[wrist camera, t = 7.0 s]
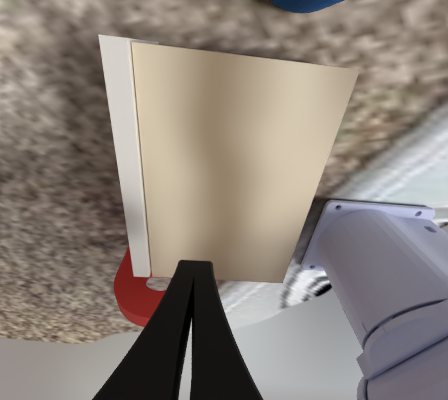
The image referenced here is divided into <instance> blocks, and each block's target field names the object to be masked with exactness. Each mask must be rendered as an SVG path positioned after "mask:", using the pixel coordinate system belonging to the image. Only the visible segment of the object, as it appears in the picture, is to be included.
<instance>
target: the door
mask: <svg viewBox="0 0 448 400" xmlns="http://www.w3.org/2000/svg"><path fill="white" fill-rule="evenodd" d="M98 36H99V43H100V50H101V56H102V63H103V70H104V77H105V84H106V91H107V97H108V104H109V111H110V118H111V125H112V131H113V138H114V145H115V152H116V159H117V165H118V172H119V179H120V186H121V193H122V200H123V206H124V213H125V220H126V227H127V234H128V240H129V247H130V254H131V261H132V268H133V274H134V277H150V274H151V270H152V268H151V257H150V245H149V234H148V223H147V212H146V201H145V189H144V178H143V167H142V156H141V144H140V133H139V122H138V111H137V100H136V88H135V77H134V66H133V55H132V43H131V42H138V43H148V44H158V45H159V42H152V41H145V40H138V39H130V38H123V37H115V36H107V35H99V34H98Z"/></svg>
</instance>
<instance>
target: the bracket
mask: <svg viewBox="0 0 448 400" xmlns="http://www.w3.org/2000/svg"><path fill="white" fill-rule="evenodd" d="M150 277H152V270H151V274H150ZM163 278H168V277H163ZM148 279H149V277H134V274H133V268H132V261H131V254H130V247H128V250H127V252H126V254H125V256H124V258H123V261H122V263H121V265H120V267H119V270H118V272H117V274H116V277H115V280H114V293H115V297H116V300H117V303H118V306H119V309H120V311H121V312H122V314H123V315H124V316H125V317H126V318H127V319H128V320H129V321H131V322H132V323H134V324H136V325H139V326H142V327H145V326H146V324H147V323H148V321H149V319H150V318H151V316H152V315H153V313H154V311H155V310H156V308H157V306H158V304H159V303H160V301H161V299H162V297H163V295H164V293H165V292H166V290H164V291H156V290H152V289H150V288H148V287H147V286H146V282H147V280H148Z"/></svg>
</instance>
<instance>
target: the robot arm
mask: <svg viewBox="0 0 448 400" xmlns="http://www.w3.org/2000/svg"><path fill="white" fill-rule="evenodd" d="M338 205H339V207H337V208H335V207H336V206H338ZM434 215H435V210H434V209H432V208H430V207H418V206H405V205H392V204H379V203H366V202H353V201H341V200H330V201H328V202H326V204H325V206H324V208H323V211H322V213H321V216H320V218H319V221H318V223H317V226H316V228H315V231H314V233H313V236H312V238H311V241H310V243H309V246H308V248H307V251H306V253H305V256H304V258H303V261H302V263H301V266H302V268H303V269H305V270H319V271H325V273H326V275H327V277H328V279H329V281H330V283H331V285H332V287H333V289H334V291H335V293H336V295H337V297H338V299H339V302H340V304H341V306H342V308H343V310H344V312H345V314H346V316H347V318H348V320H349V322H350V324H351V326H352V328H353V330H354V332H355V334H356V336H357V339H358V341H359V343H360V345H361V347H362V349H363V350H364V351H363V353H362V354H361V355H360V356H358V357H357V361H358V364H359V366H360V368H361V370H362V373H363V375H364V377H362V379H361V380H360V382H359V385H358V388H357V400H448V234H447V233H446V232H444V231H443V230H442V229H441V228H439V227H438V226H437V225H436V224H434V223H433V222H432V221H431V219H432V218H433V216H434ZM191 319H192V379H191V392H190V400H263V398H262V396H261V394H260V393H259V391H258V389H257V387H256V385H255V383H254V381H253V379H252V377H251V375H250V373H249V371H248V368H247V366H246V364H245V362H244V360H243V358H242V356H241V354H240V351H239V349H238V346H237V344H236V342H235V339H234V337H233V334H232V332H231V329H230V326H229V324H228V321H227V318H226V315H225V312H224V309H223V306H222V303H221V300H220V296H219V293H218V289H217V285H216V281H215V276H214V270H213V263H212V262H211V261H197V260H180V261H179V262H178V265H177V268H176V270H175V273H174V275H173V277H172V279H171V282H170V284H169V286H168V288H167V290H166V292H165V293H164V295H163V297H162V299H161V301H160V303H159V304H158V306H157V308H156V310H155V311H154V313H153V315H152V316H151V318H150V319H149V321H148V323H147V324H146V326H145V328H144V329H143V331H142V332H141V334H140V335H139V337H138V338H137V340H136V341H135V343H134V344H133V346H132V347H131V349H130V350H129V351H128V353H127V354H126V356H125V357H124V359H123V360H122V362H121V363H120V364H119V365H118V367H117V368H116V369H115V371H114V372H113V373H112V375H111V376H110V377H109V379H108V380H107V381H106V383H105V384H104V385H103V386H102V388H101V389H100V390H99V392H98V393H97V394H96V395H95V397H94V398H93V399H92V400H178V397H179V389H180V381H181V375H182V370H183V364H184V358H185V353H186V347H187V341H188V336H189V330H190V325H191Z"/></svg>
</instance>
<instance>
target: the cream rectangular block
mask: <svg viewBox="0 0 448 400" xmlns="http://www.w3.org/2000/svg"><path fill="white" fill-rule="evenodd" d="M131 43H132V55H133V66H134V77H135V88H136V100H137V111H138V122H139V133H140V144H141V156H142V167H143V178H144V189H145V201H146V212H147V223H148V234H149V245H150V257H151V268H152V277H168V278H172V277H173V275H174V273H175V270H176V268H177V265H178V262H179V261H180V260H197V261H211V262H212V263H213V270H214V276H215V280H230V281H250V282H270V283H283V281H284V278H285V275H286V272H287V270H288V267H289V264H290V261H291V259H292V256H293V253H294V250H295V248H296V245H297V242H298V239H299V236H300V234H301V231H302V228H303V225H304V223H305V220H306V217H307V214H308V212H309V209H310V206H311V203H312V201H313V198H314V195H315V192H316V190H317V187H318V184H319V181H320V179H321V176H322V173H323V170H324V168H325V165H326V162H327V159H328V156H329V154H330V151H331V148H332V145H333V143H334V140H335V137H336V134H337V132H338V129H339V126H340V123H341V121H342V118H343V115H344V112H345V110H346V107H347V104H348V101H349V99H350V96H351V93H352V90H353V88H354V85H355V82H356V79H357V77H358V74H359V71H360V70H358V69H351V68H343V67H336V66H328V65H321V64H314V63H306V62H297V61H289V60H281V59H273V58H265V57H257V56H248V55H240V54H232V53H224V52H216V51H208V50H199V49H191V48H183V47H175V46H167V45H158V44H148V43H138V42H131Z"/></svg>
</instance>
